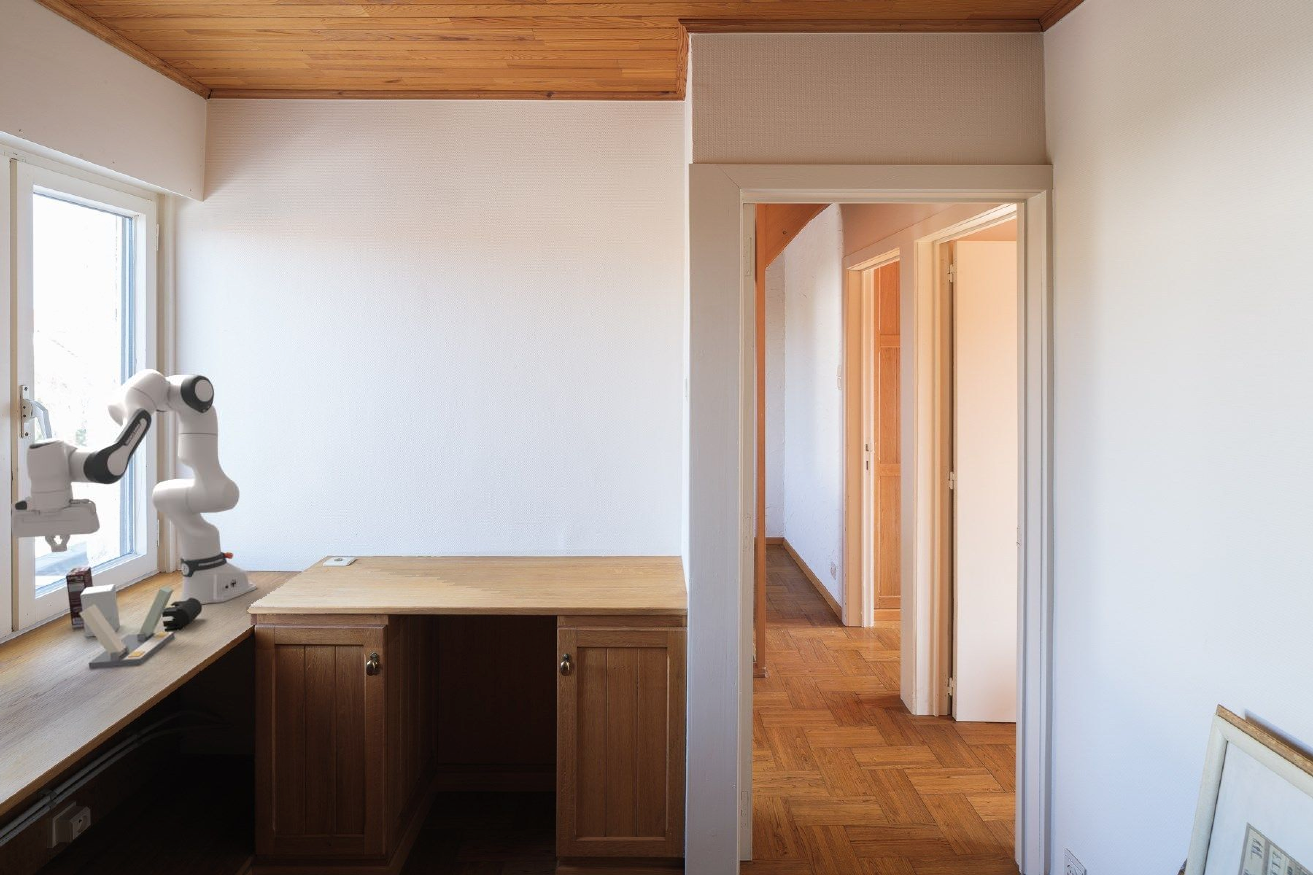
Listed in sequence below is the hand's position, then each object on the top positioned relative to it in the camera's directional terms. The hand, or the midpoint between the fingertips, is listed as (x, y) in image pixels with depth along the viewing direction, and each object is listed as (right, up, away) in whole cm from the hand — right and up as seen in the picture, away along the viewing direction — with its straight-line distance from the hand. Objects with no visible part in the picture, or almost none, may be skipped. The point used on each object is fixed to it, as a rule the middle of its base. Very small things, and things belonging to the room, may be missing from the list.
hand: (59, 551), depth 218 cm
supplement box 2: (0, -26, +17) cm, 31 cm away
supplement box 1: (-11, -25, +25) cm, 37 cm away
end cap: (+21, -25, +21) cm, 39 cm away
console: (+19, -27, +1) cm, 33 cm away
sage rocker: (+18, -24, +7) cm, 31 cm away
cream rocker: (+20, -26, -6) cm, 33 cm away
